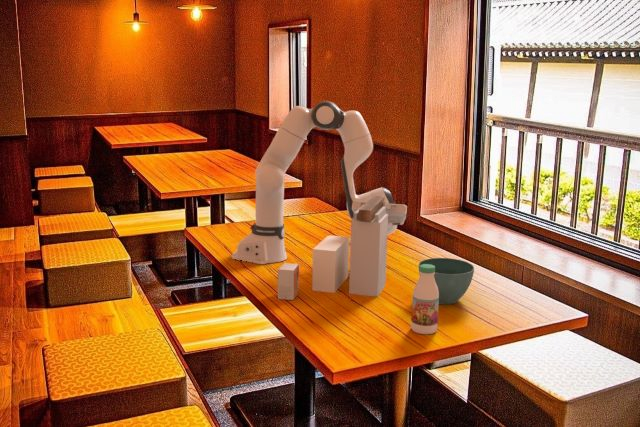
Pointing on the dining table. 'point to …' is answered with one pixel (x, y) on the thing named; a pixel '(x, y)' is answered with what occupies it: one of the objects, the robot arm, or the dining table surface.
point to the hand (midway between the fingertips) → (376, 202)
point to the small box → (288, 281)
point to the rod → (370, 208)
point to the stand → (368, 254)
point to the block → (330, 263)
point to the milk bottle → (425, 302)
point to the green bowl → (451, 278)
